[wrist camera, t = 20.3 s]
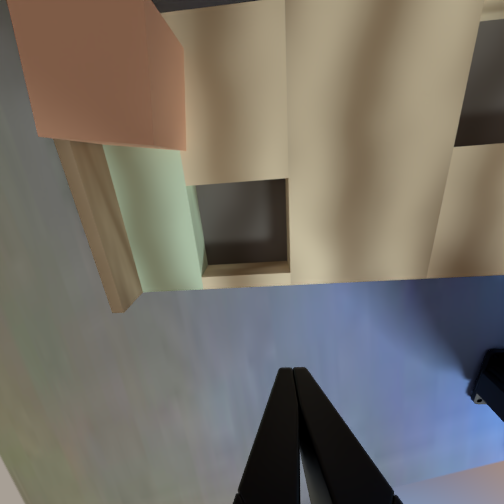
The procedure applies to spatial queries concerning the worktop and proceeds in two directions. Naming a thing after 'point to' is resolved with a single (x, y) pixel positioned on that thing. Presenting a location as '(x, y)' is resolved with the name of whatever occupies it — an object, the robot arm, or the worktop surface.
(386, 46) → the board
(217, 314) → the worktop surface
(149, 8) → the block
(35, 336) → the worktop surface
